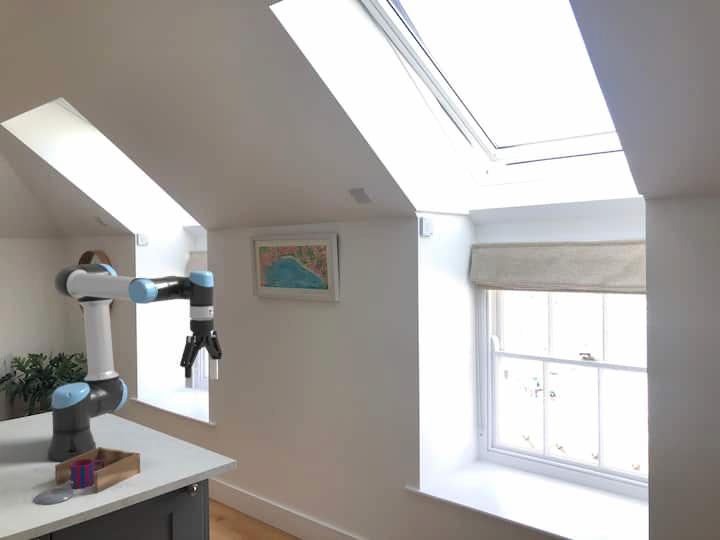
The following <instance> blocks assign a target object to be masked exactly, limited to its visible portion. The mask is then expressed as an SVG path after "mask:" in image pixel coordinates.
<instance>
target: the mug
mask: <svg viewBox="0 0 720 540" xmlns="http://www.w3.org/2000/svg"><path fill="white" fill-rule="evenodd" d="M97 462H102V465H103V466H102V467H101V469H102V468H105V464H104V462H103V461H102V460H96V461H94V460H92V459H79V460H75V461H73V462H71V463H70V481H69V487H70V489H72V490H73V489H75V490H82V489H87V488H90V487H92V486H94V485H95V477H94V472H95V469H94V465H95V464H96V463H97Z"/></svg>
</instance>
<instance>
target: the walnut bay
mask: <svg viewBox="0 0 720 540" xmlns="http://www.w3.org/2000/svg"><path fill="white" fill-rule="evenodd" d="M79 459H92V460H94V461H96V460H102V461H103V462H104V464H105V468H102V466H103V465H102V462H97V463H96V464H95V465H94V470H96V468H97V469H98V468H101V469H98V470H96V471H94V477H95V479H94V493H96V494H98V493H101V492H102V491H103V492H104V491H105V490H106V489H108V488H111V487H113V486H114V485H117V484H119V483H121V482H123V481H125V480H127V479H129V478H131V477H134V476H136V475H137V474H140V473H141V453H139V452H133V451H126V450H120V449H113V448H106V447H101V446H99V447H96V449H94V450H91V451H89V452H86V453H84V454H81V455H79V456H76V457H74V458H72V459H69V460H67V461H61V462H59V463H57V464H55V467H54V469H55V470H54V473H55V476H54V477H55V479H54V480H55V485H56V486H60V485H62V484H65V483H66V482H70V463H71V462H73V461H75V460H79Z"/></svg>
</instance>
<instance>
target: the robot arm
mask: <svg viewBox="0 0 720 540" xmlns="http://www.w3.org/2000/svg"><path fill="white" fill-rule="evenodd" d="M53 285H54V289H55V290H56V292H57V293H58V294H59V295H60V296H62V297H64V298H67V299H77V303H78V304H79V305H81V306H82V308H83V309H82V310H83V320H84V321H83V322H84V332H85V334H84V335H85V344H86V345H85V347H86V356H87V358H86V359H87V370H88V371H87V372H88V373H87V375H86V376H85V377H84V378H83V381H84V382H73V383H67V384H64V385H61V386H59V387H57V388H56V389H55V390H54V391H53V392H52V397H51V410H52V411H51V412H52V437H51V440H50V443H49V447H48V448H47V459H49V460H50V461H53V462H64V461H67V460H69V459H72V458H74V457H76V456H79V455H81V454H84V453H86V452H89V451H91V450H94V449H96V448H97V444H96V442H95V440H94V436H93V434H92V431H91V419H93V418H97V417H100V416H103V415H106V414H111V413H114V412H116V411H117V410H120V409H121V408H122V407H123V406H124V405H125V403H126V401H127V399H128V387H127V385H126V384H125V381H124V380H123V379H121V378H120V375H119V373H118V372H116V371H115V368H114V365H115V364H114V356H113V355H114V354H113V344H112V342H113V339H112V330H111V329H112V327H111V317H110V316H111V315H110V314H111V313H110V304H111V303H112V302H113V300H122V301H123V300H125V301H132V302H133V303H135V304H145V305H146V304H150V303H155V302H166V301H173V300H188V301H189V318H190V320H189V331H191V332H192V335H186V337H185V344H184V348H183V352H182V356H181V360H180V362H179V366H180V367H181V368H184V377H185V379H184V380H185V388H189V389H194V388H195V367H193V365H194V363H195V360H196V359H197V357H198V355H199V352H200V350H202V349H203V348H205V349H206V351H207V353H208V354H209V357H210V359H209V379H210V380H218V379H219V360H222V356H223V352H222V349H221V345H220V342H219V339H218V332H217V330H214V329H215V328H214V327H215V324H214V323H215V322H214V321H215V320H214V287H215V286H214V285H215V284H214V274H213V272H211V271H207V270H203V271H202V270H196V271H195V270H194V271H191V272H189V276H177V275H167V276H164V277H156V278H155V277H154V278H152V277H151V278H146V277H135V276H133V277H132V276H123V275H118V274H117V272H116V270H115V269H114V268H112V266H111V265H109V264H105V263H96V262H95V263H87V264H86V263H85V264H84V263H83V264H70V265H66V266H64V267H62V268H60V269H59V270H58V271H57V272H56V274H55V275H54V279H53Z"/></svg>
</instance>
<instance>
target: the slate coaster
mask: <svg viewBox="0 0 720 540" xmlns="http://www.w3.org/2000/svg"><path fill="white" fill-rule="evenodd" d="M74 495H75V492H74V490H73V489H72V488H64V487H63V488H61V487H59V488H52V489H48V490H45V491H43V492H40V493H38V494H37V495H36V496H35V497H34V502H35V503H36V504H38V505H55V504H60V503H64V502H67V501H68V500H70V499H72V498H73V497H74Z"/></svg>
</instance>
